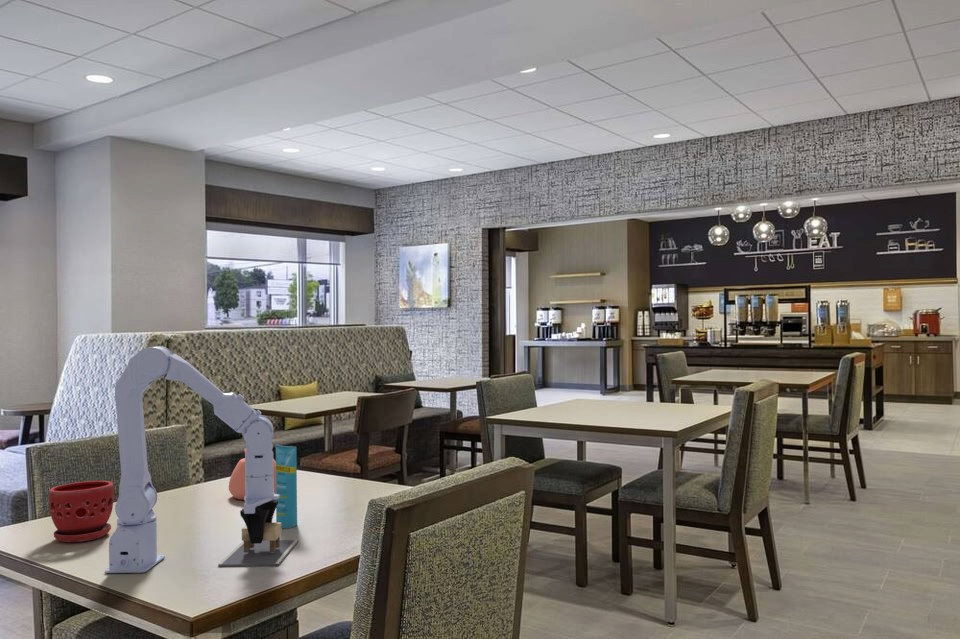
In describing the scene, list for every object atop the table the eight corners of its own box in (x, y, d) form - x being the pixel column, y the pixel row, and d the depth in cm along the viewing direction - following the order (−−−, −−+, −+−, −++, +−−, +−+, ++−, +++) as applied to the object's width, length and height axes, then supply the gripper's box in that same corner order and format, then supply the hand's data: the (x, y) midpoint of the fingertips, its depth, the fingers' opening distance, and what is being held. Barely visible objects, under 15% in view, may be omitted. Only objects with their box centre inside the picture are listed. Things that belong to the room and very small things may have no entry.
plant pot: (127, 531, 172) (126, 480, 172) (82, 547, 160) (82, 492, 160) (81, 527, 176) (81, 477, 176) (35, 543, 163) (34, 489, 163)
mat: (278, 565, 146) (278, 563, 146) (218, 566, 146) (218, 564, 146) (298, 541, 162) (298, 539, 162) (244, 542, 162) (244, 540, 162)
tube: (268, 526, 175) (267, 445, 175) (283, 521, 179) (282, 442, 179) (291, 530, 171) (290, 448, 171) (305, 525, 175) (305, 444, 175)
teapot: (220, 491, 212) (220, 449, 212) (272, 485, 220) (272, 444, 220) (237, 507, 193) (237, 460, 194) (294, 499, 201) (293, 455, 201)
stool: (241, 552, 152) (241, 528, 152) (248, 546, 156) (248, 522, 156) (275, 552, 152) (275, 528, 152) (281, 545, 156) (281, 522, 156)
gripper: (268, 481, 147) (269, 549, 147) (287, 467, 161) (288, 529, 161) (233, 482, 147) (234, 550, 147) (255, 467, 161) (256, 529, 161)
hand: (260, 539), depth 154 cm, fingers closed on stool, 4 cm apart
